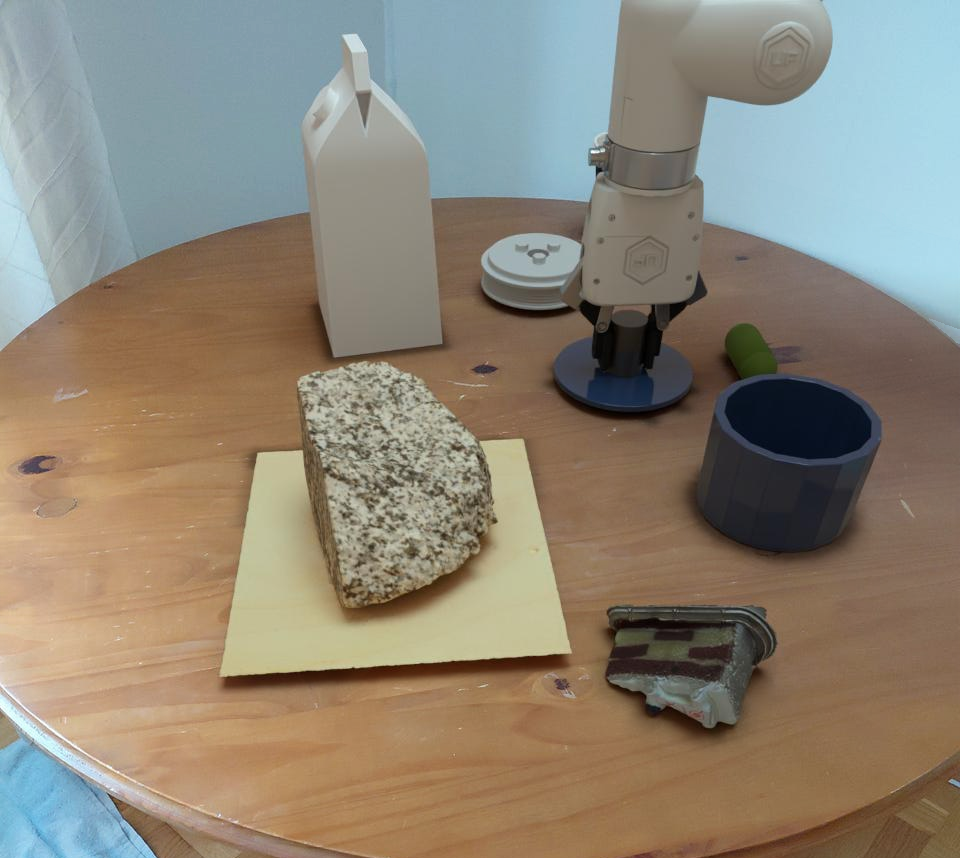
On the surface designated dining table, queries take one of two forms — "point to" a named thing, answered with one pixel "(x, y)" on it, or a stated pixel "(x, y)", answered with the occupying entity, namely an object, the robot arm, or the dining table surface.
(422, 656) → the rock
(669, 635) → the chocolate cake
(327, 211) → the milk
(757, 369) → the green rounded cylinder
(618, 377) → the pot lid
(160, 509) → the dining table surface
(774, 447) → the pot
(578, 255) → the lid
